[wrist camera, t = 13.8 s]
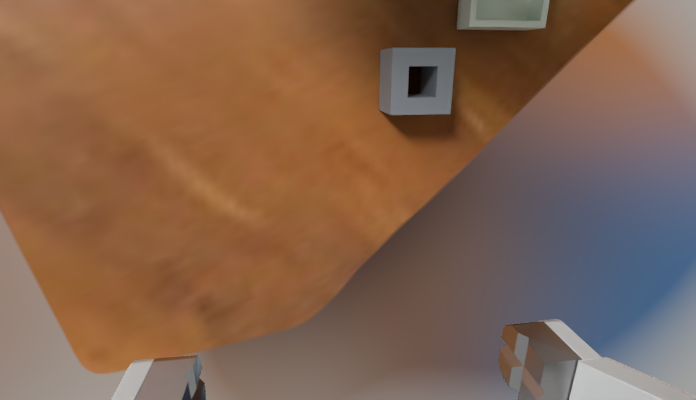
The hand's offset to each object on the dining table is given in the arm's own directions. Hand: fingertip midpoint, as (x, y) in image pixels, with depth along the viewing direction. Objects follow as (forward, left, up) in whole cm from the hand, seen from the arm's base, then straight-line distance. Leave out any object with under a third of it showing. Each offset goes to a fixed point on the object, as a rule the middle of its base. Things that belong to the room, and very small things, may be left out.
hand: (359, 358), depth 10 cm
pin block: (-6, +11, -33) cm, 35 cm away
